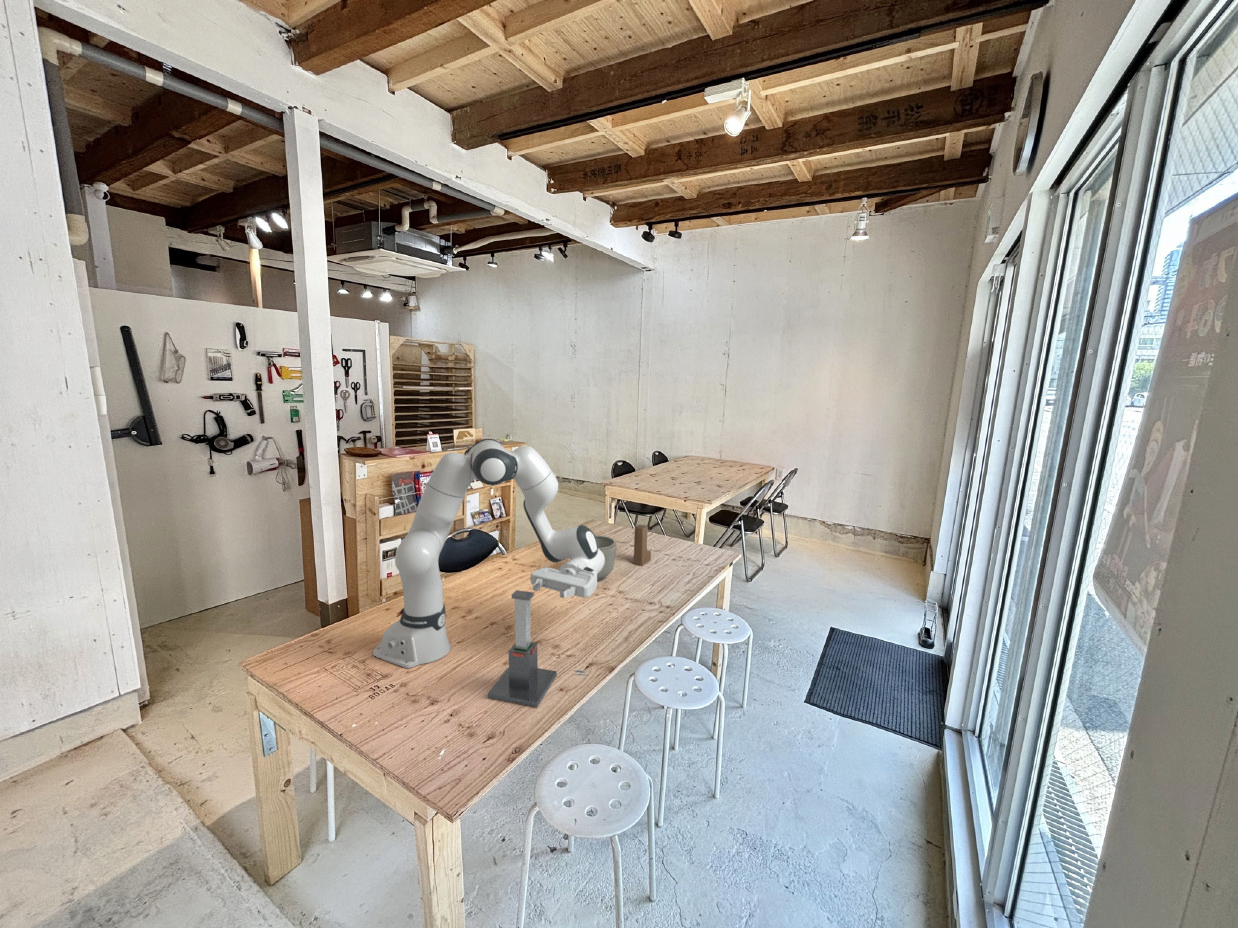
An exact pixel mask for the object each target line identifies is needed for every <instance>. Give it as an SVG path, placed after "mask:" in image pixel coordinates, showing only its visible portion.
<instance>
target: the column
mask: <svg viewBox="0 0 1238 928" xmlns="http://www.w3.org/2000/svg"><path fill="white" fill-rule="evenodd" d="M534 594H535V593H534V592H533V591H524V590H517V589H516V590H515V591H514V592H513V593H512V594H511V600H514V608H515V609H514V611H515V612H514V613H515V615H514V616H515V618H514V623H515V624H514V625H515V629H514V630H515V643H516V647H515V650H520V651H526V652H527V651H528V649H529V648H530V647H531V642H532V641H531V640H532V639H531V634H532V633H531V627H532V626H531V600H532V599H533V598H534V597H535V595H534Z"/></svg>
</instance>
